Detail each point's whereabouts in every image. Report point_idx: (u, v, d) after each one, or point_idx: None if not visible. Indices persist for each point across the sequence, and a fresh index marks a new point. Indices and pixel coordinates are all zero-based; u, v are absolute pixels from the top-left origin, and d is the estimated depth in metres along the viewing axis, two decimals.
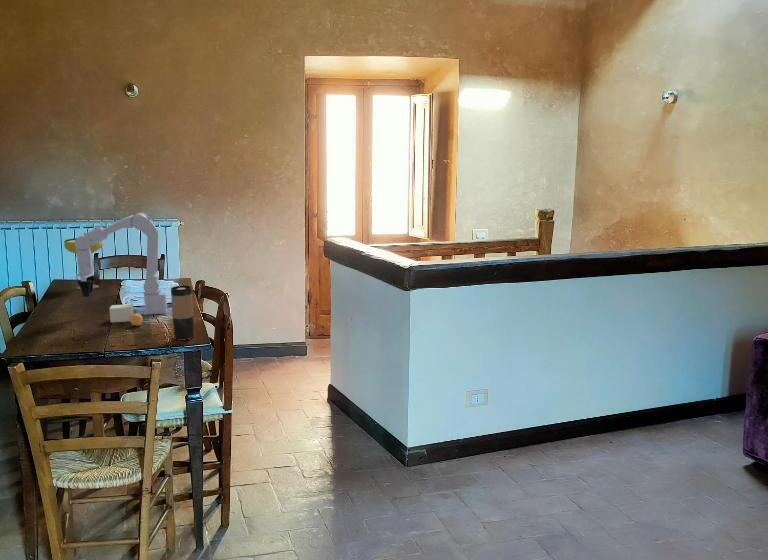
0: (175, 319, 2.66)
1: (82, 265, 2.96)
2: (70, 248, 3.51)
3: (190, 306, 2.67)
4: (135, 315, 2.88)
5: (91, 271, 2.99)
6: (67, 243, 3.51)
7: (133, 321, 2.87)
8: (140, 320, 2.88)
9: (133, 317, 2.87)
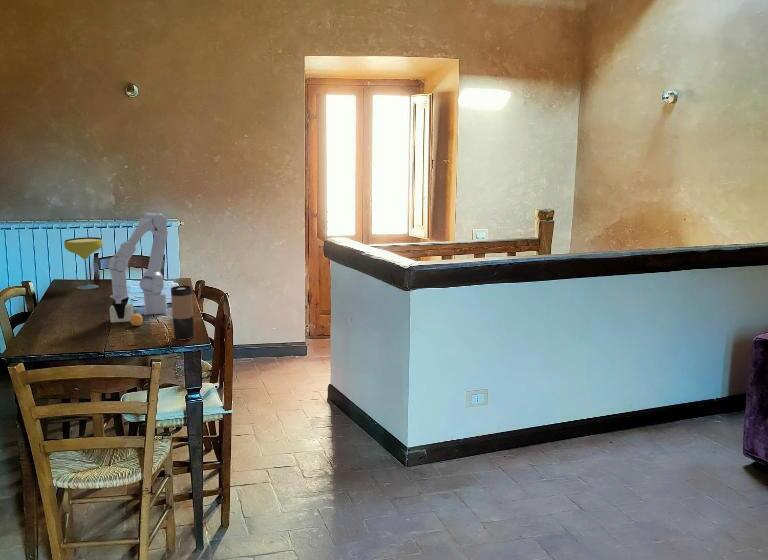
0: (175, 319, 2.66)
1: (117, 287, 2.93)
2: (70, 248, 3.51)
3: (190, 306, 2.67)
4: (135, 315, 2.88)
5: (126, 293, 2.96)
6: (67, 243, 3.51)
7: (133, 321, 2.87)
8: (140, 320, 2.88)
9: (133, 317, 2.87)
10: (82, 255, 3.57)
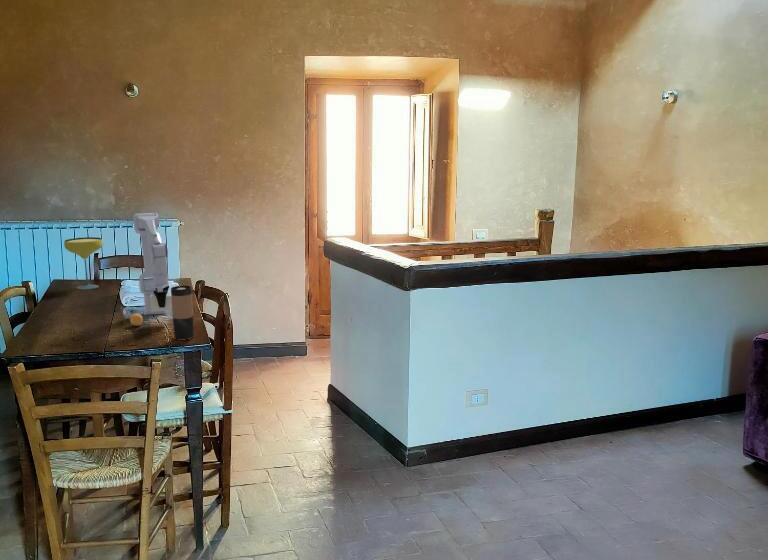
0: (175, 319, 2.66)
1: (158, 275, 2.85)
2: (70, 248, 3.51)
3: (190, 306, 2.67)
4: (135, 315, 2.88)
5: (167, 281, 2.88)
6: (67, 243, 3.51)
7: (133, 321, 2.87)
8: (140, 320, 2.88)
9: (133, 317, 2.87)
10: (82, 255, 3.57)
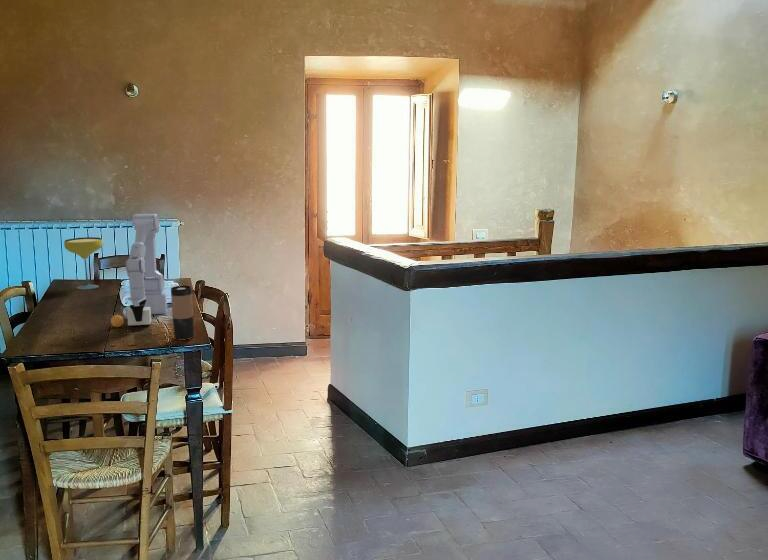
0: (175, 319, 2.66)
1: (135, 289, 2.84)
2: (70, 248, 3.51)
3: (190, 306, 2.67)
4: (116, 326, 2.87)
5: (143, 295, 2.87)
6: (67, 243, 3.51)
7: (119, 322, 2.85)
8: (112, 321, 2.85)
9: (118, 325, 2.86)
10: (82, 255, 3.57)
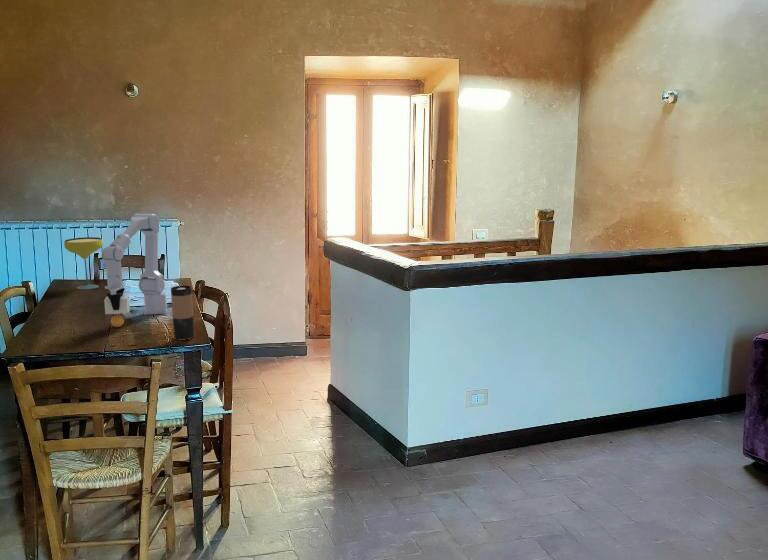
0: (175, 319, 2.66)
1: (112, 277, 2.81)
2: (70, 248, 3.51)
3: (190, 306, 2.67)
4: (116, 326, 2.87)
5: (121, 283, 2.84)
6: (67, 243, 3.51)
7: (119, 322, 2.85)
8: (112, 321, 2.85)
9: (118, 325, 2.86)
10: (82, 255, 3.57)
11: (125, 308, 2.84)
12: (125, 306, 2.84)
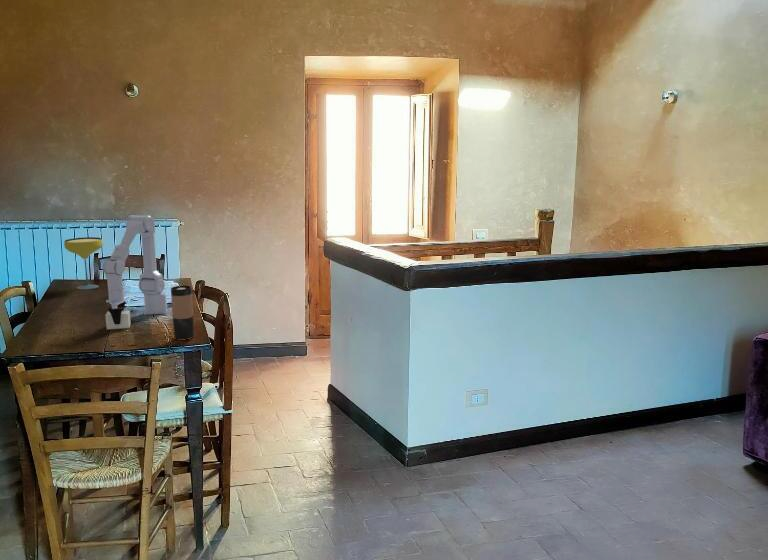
0: (175, 319, 2.66)
1: (113, 291, 2.82)
2: (70, 248, 3.51)
3: (190, 306, 2.67)
4: None
5: (122, 297, 2.85)
6: (67, 243, 3.51)
7: None
8: None
9: None
10: (82, 255, 3.57)
11: (126, 323, 2.86)
12: (126, 321, 2.85)
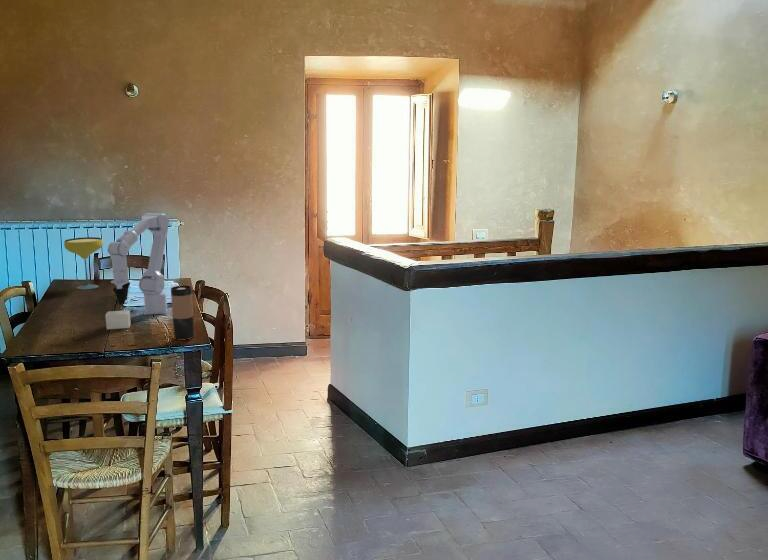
0: (175, 319, 2.66)
1: (118, 272, 2.87)
2: (70, 248, 3.51)
3: (190, 306, 2.67)
4: None
5: (127, 278, 2.90)
6: (67, 243, 3.51)
7: None
8: None
9: None
10: (82, 255, 3.57)
11: (126, 323, 2.86)
12: (126, 321, 2.85)
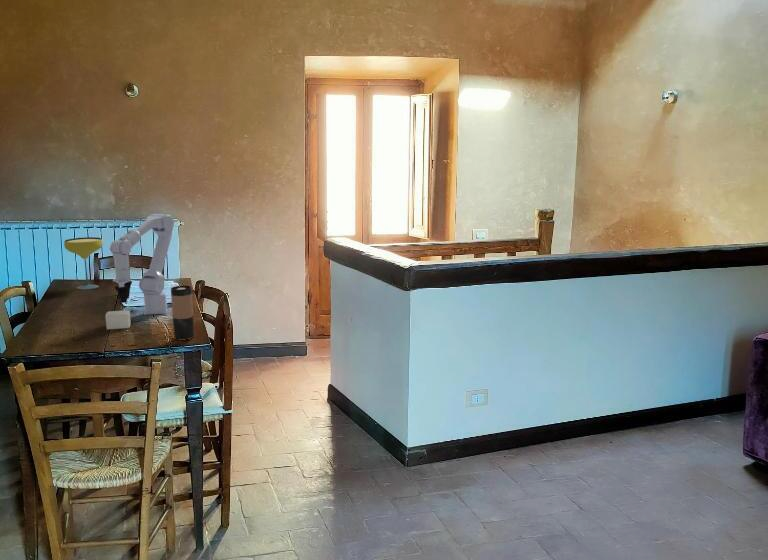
0: (175, 319, 2.66)
1: (120, 270, 2.90)
2: (70, 248, 3.51)
3: (190, 306, 2.67)
4: None
5: (129, 276, 2.93)
6: (67, 243, 3.51)
7: None
8: None
9: None
10: (82, 255, 3.57)
11: (126, 323, 2.86)
12: (126, 321, 2.85)
